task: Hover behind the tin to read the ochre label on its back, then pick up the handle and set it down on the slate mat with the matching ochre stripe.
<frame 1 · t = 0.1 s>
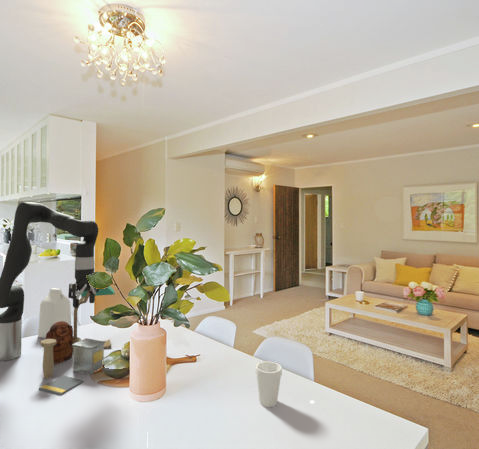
hand: (84, 305, 138), 29 cm above the table, fingers open, 8 cm apart
banker's lamp: (91, 348, 165), on the table
tin: (88, 369, 141), on the table
wooden figurine: (60, 360, 150), on the table
handle: (48, 377, 134), on the table
foam cup: (268, 402, 118), on the table
milk: (55, 335, 183), on the table
mat: (62, 385, 127), on the table
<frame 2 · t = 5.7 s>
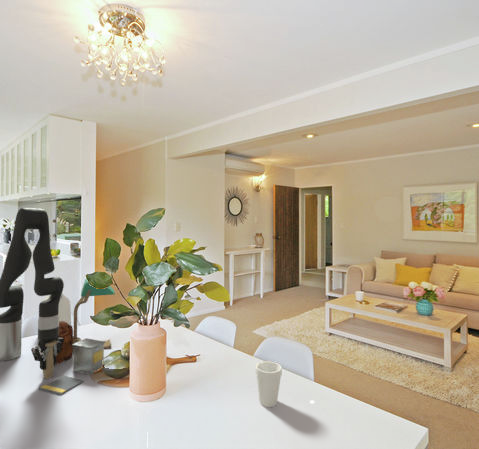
hand: (48, 367, 134), 4 cm above the table, fingers closed on handle, 4 cm apart
handle: (48, 377, 134), on the table, touching gripper
everything else where it was.
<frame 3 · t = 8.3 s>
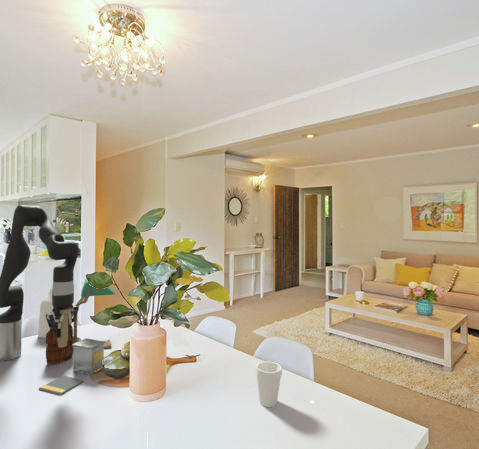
hand: (62, 335, 127), 20 cm above the table, fingers closed on handle, 4 cm apart
handle: (62, 346, 127), point 15 cm above the table, touching gripper
everything else where it was.
when the fingers open (6 cm above the table, at t = 11.0 s): handle stays where it is, resting on mat.
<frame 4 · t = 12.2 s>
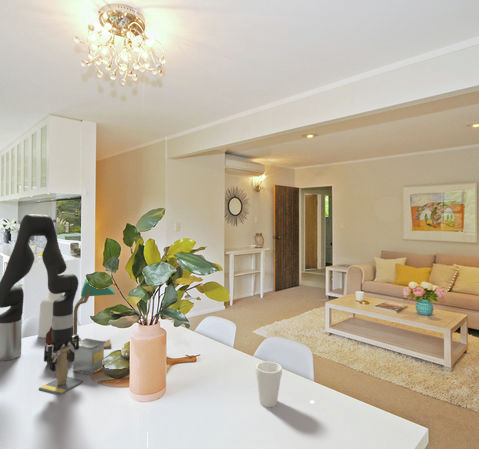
hand: (62, 366, 127), 8 cm above the table, fingers open, 8 cm apart
handle: (62, 384, 127), resting on mat
everything else where it was.
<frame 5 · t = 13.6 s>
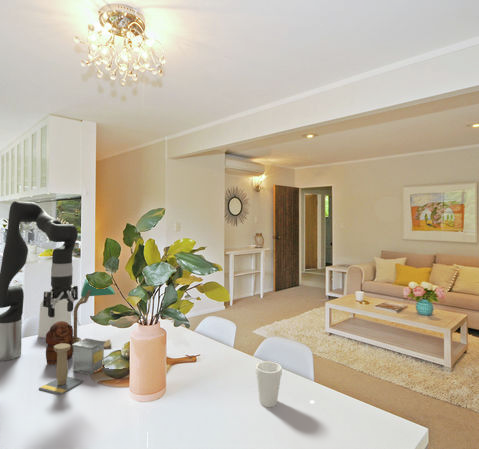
hand: (60, 314, 130), 27 cm above the table, fingers open, 8 cm apart
nothing on the table moved.
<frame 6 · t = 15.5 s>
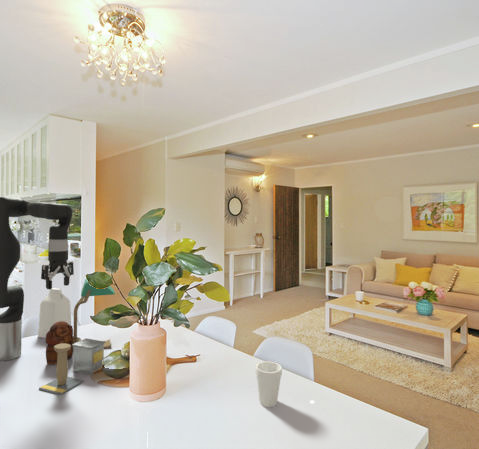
hand: (57, 287, 140), 36 cm above the table, fingers open, 8 cm apart
nothing on the table moved.
at the end: handle inside the target area on the mat (0.1 cm from its centre), point 0.4 cm above the mat's base; handle touching mat; the gripper is holding nothing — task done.
